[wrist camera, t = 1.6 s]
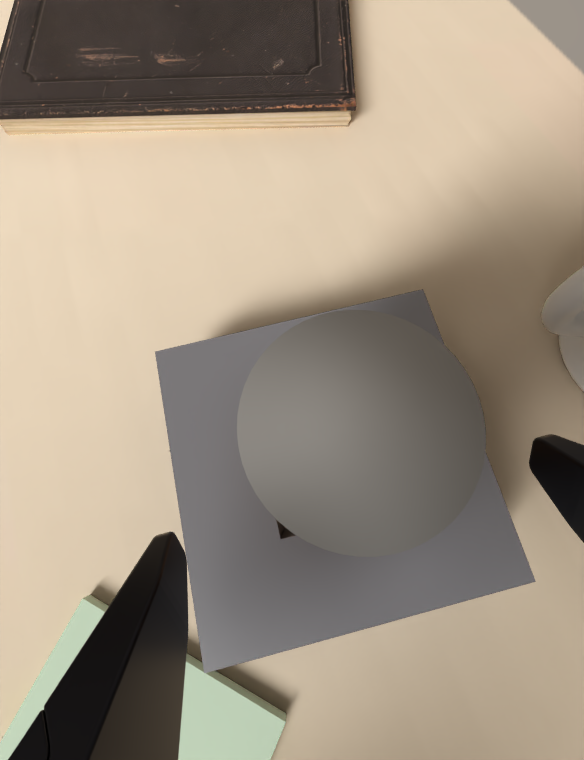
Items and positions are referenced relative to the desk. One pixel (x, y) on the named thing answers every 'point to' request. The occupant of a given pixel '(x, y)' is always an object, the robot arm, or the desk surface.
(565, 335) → the mug
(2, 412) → the desk surface
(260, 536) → the grey peg hole block
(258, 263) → the desk surface
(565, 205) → the desk surface
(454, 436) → the plug
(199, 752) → the mat
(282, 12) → the hardcover book
